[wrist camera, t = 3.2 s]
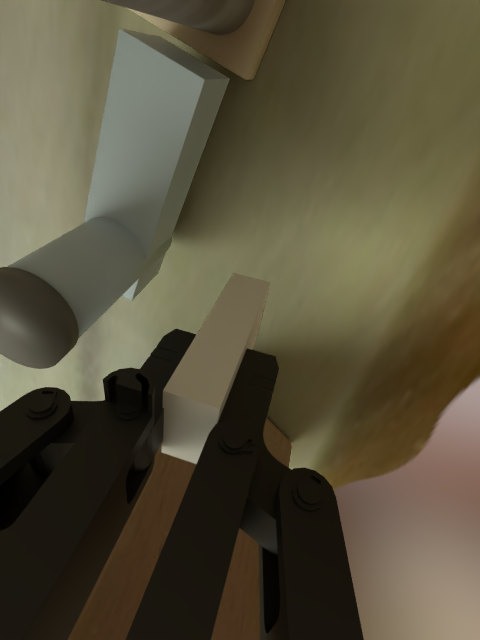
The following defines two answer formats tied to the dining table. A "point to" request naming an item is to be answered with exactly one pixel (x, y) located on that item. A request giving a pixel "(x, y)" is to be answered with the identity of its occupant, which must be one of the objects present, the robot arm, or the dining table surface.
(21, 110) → the dining table surface
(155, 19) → the wooden twin post stand
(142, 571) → the wooden block
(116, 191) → the hinged leg
